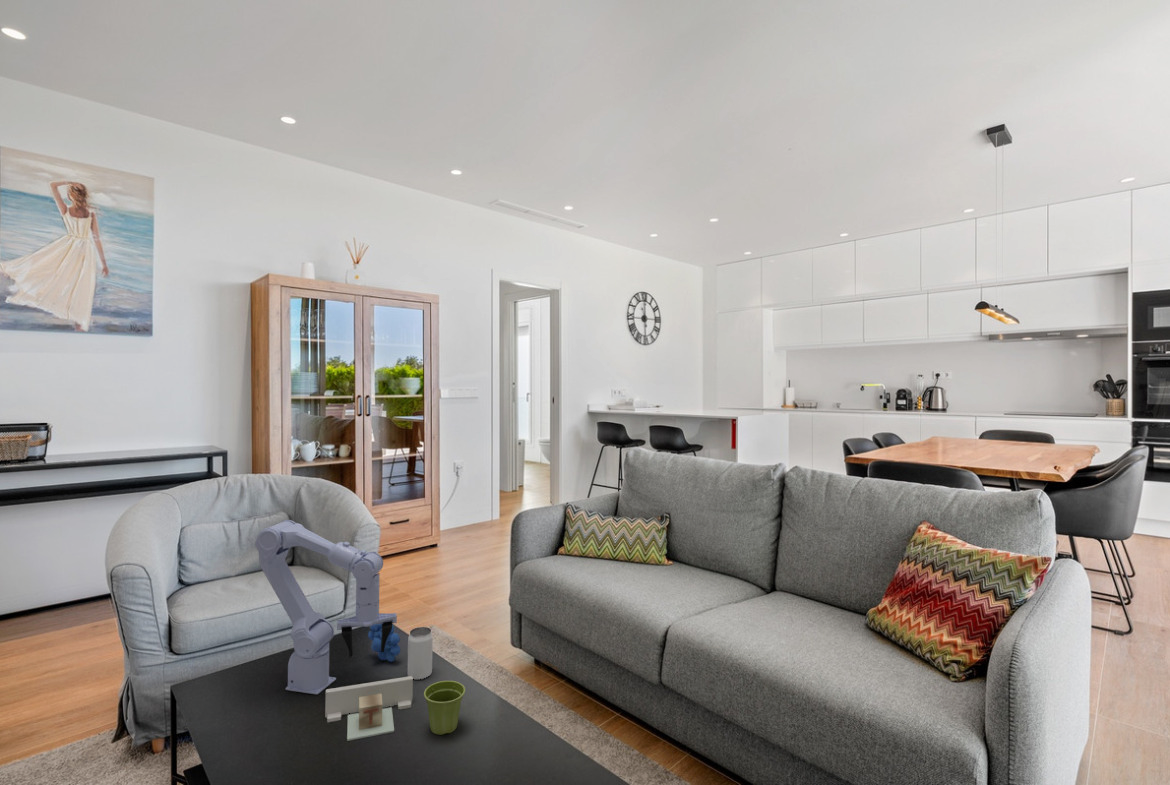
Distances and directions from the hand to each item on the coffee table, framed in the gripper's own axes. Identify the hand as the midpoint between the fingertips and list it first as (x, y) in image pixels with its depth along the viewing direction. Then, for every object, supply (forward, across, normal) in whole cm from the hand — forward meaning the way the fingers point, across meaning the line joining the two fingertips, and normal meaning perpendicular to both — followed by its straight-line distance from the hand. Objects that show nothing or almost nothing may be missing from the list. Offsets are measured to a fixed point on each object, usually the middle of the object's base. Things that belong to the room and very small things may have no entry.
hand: (366, 652), depth 152 cm
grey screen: (+9, +1, -10) cm, 14 cm away
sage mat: (+9, +1, -17) cm, 19 cm away
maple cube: (+9, +1, -17) cm, 19 cm away
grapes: (+10, +4, +14) cm, 17 cm away
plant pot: (+10, +17, -24) cm, 31 cm away
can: (+10, +14, +3) cm, 17 cm away
